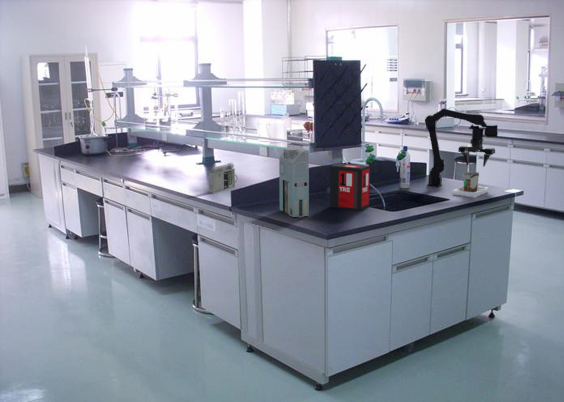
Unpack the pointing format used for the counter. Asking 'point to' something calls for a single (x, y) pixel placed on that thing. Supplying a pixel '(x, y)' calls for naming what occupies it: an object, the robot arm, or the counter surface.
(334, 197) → the cleaning product box
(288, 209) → the device
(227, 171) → the geiger counter
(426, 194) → the counter surface
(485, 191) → the tray
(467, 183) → the food container
